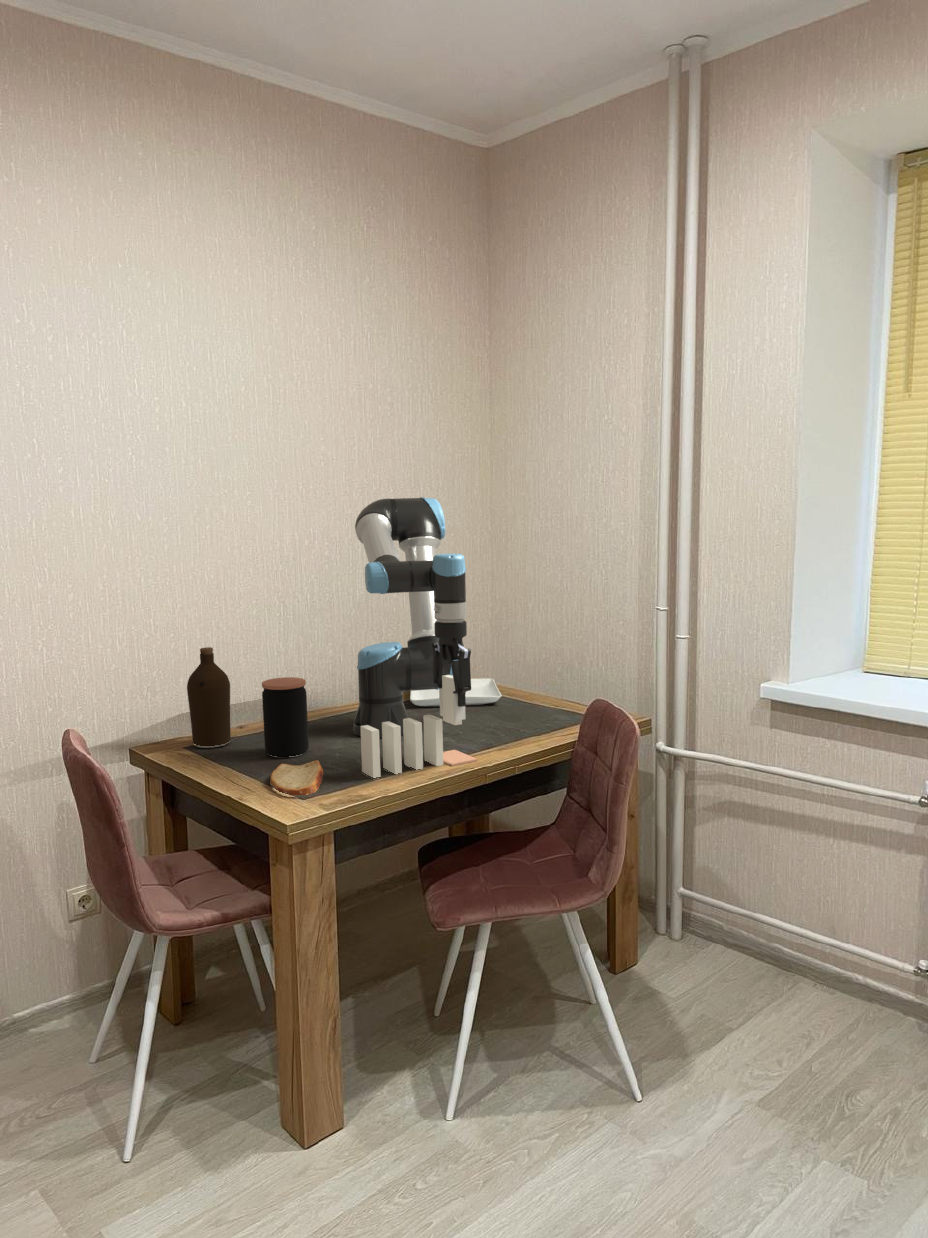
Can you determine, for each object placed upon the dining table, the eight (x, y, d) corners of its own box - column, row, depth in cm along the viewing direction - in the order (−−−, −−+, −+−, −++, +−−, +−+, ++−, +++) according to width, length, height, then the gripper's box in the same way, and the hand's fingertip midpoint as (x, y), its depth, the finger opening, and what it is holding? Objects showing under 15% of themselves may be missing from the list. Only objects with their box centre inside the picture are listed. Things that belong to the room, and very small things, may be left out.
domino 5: (455, 725, 220) (454, 679, 219) (443, 720, 225) (441, 675, 223) (461, 724, 221) (461, 678, 220) (449, 719, 226) (448, 674, 224)
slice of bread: (303, 802, 196) (302, 785, 196) (242, 788, 206) (242, 772, 206) (359, 779, 211) (358, 763, 211) (300, 767, 221) (299, 752, 221)
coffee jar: (317, 750, 234) (314, 679, 232) (289, 761, 225) (285, 687, 223) (285, 745, 240) (281, 675, 237) (255, 755, 230) (252, 683, 228)
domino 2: (395, 774, 213) (393, 727, 211) (383, 768, 218) (381, 722, 216) (401, 773, 214) (400, 726, 212) (390, 767, 218) (388, 721, 217)
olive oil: (237, 746, 240) (232, 649, 236) (195, 752, 235) (189, 653, 231) (227, 736, 249) (222, 643, 245) (186, 742, 244) (180, 647, 241)
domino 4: (436, 766, 219) (435, 720, 217) (424, 760, 223) (423, 715, 222) (443, 765, 220) (442, 719, 218) (431, 759, 224) (430, 714, 223)
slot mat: (452, 766, 218) (452, 764, 218) (430, 756, 227) (430, 754, 227) (477, 761, 222) (477, 759, 222) (454, 751, 230) (454, 749, 230)
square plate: (493, 688, 304) (493, 676, 303) (502, 707, 277) (502, 695, 276) (409, 691, 302) (408, 679, 301) (410, 711, 275) (409, 698, 274)
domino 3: (416, 770, 216) (415, 723, 214) (404, 764, 220) (403, 719, 219) (423, 769, 217) (421, 722, 215) (411, 763, 221) (409, 717, 220)
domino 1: (373, 779, 210) (371, 731, 208) (362, 773, 215) (360, 726, 213) (380, 777, 211) (378, 730, 209) (369, 771, 216) (367, 724, 214)
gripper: (416, 617, 226) (419, 712, 229) (458, 625, 210) (460, 727, 213) (443, 614, 230) (445, 708, 233) (485, 622, 214) (487, 722, 217)
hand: (452, 717), depth 223 cm, fingers closed on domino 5, 6 cm apart
